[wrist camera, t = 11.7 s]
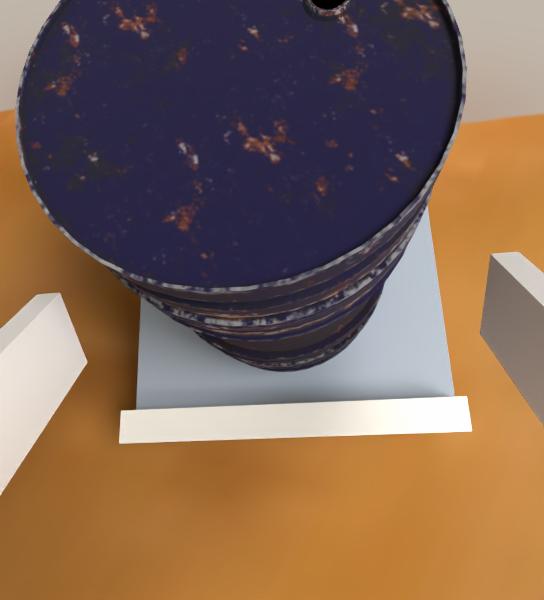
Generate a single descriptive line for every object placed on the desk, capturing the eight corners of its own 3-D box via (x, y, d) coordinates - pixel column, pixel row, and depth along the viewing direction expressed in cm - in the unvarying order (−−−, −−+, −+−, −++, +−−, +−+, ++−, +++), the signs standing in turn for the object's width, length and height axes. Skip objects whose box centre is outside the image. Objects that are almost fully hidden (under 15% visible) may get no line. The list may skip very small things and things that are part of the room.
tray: (162, 438, 26) (119, 443, 21) (168, 196, 30) (134, 146, 25) (437, 428, 25) (472, 431, 19) (404, 175, 29) (424, 117, 23)
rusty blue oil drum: (275, 416, 22) (191, 414, 8) (159, 279, 24) (-69, 83, 10) (417, 285, 23) (584, 63, 8) (291, 166, 25) (256, -159, 11)
